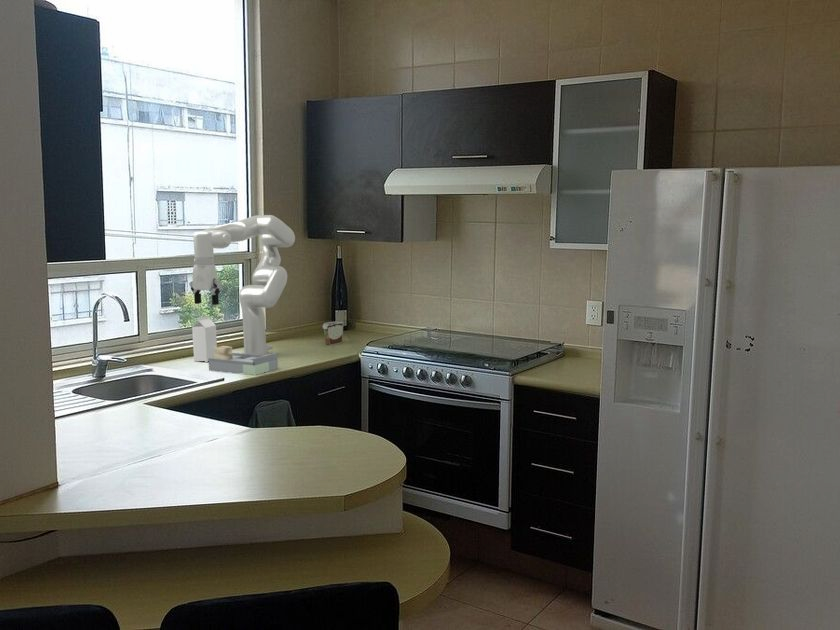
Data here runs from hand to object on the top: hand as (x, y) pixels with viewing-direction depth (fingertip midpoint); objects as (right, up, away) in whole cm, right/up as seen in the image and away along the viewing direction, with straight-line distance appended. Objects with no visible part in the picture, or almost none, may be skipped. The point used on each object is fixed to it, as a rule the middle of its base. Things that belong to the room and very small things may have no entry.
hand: (206, 303), depth 328 cm
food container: (+44, -18, +58) cm, 75 cm away
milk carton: (-6, -24, +20) cm, 32 cm away
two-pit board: (+15, -27, -2) cm, 31 cm away
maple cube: (+7, -23, -1) cm, 24 cm away
